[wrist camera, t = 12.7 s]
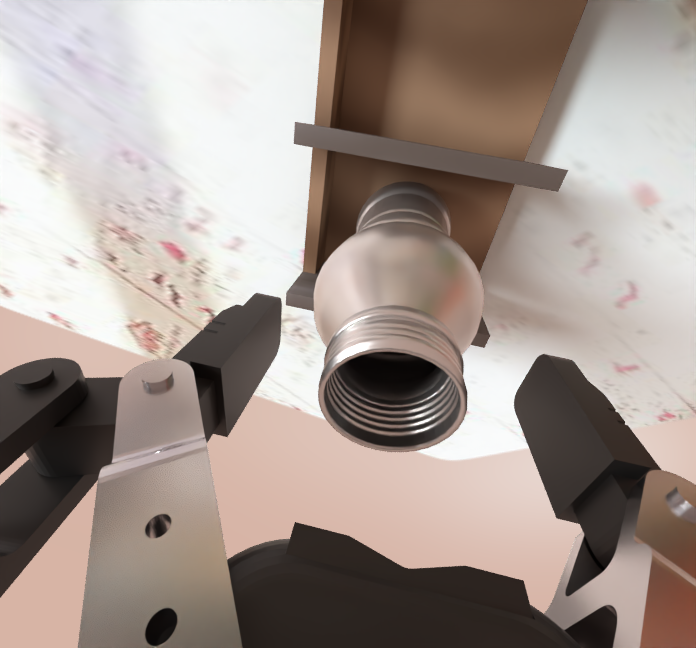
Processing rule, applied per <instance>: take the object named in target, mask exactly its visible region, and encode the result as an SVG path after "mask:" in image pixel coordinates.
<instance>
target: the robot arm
mask: <svg viewBox="0 0 696 648" xmlns="http://www.w3.org/2000/svg"><path fill="white" fill-rule="evenodd" d="M281 309H282V303H281V299H280V298H278V297H274V296H269V295H264V294H259V293H256V294H254V295H253V296H252V297H251V298H250V299H249V300H248V301H247V302H246V303H245V305H244V306H241V305H235V306H233V307H230V308H228V309H226V310H223V311H222V312H221V313H220V314H218V315H217V316H216V317H215V318H214V319H213V320H212V323H211V322H210V323H209V324H208V325H207V326H206V327H205V328H204V330H201V331H200V332H199V333H198V334H197V335H196V336H195V337H194V338H193V339H192V340H191V341H190V342H189V343H188V344H187V345H186V346H185V347H183V348H182V349H181V350H180V351H179V352H178V353H177V354H176V355H175V356H174V357H173V358H172V359H158V360H153V361H149V362H146V363H143V364H141V365H139V366H137V367H135V368H133V369H132V370H130V371H129V372H128V373H127V374H126V375H125V376H124V377H118V378H117V377H116V378H85V377H84V375H83V373H82V370H81V368H80V366H79V365H78V364H77V363H76V362H75V361H72V360H69V359H63V358H49V359H42V360H36V361H33V362H29V363H25V364H23V365H20V366H17V367H15V368H13V369H11V370H9V371H7V372H5V373H4V374H2V375H0V474H1V473H2V472H3V471H4V470H5V469H7V468H8V467H9V466H10V465H11V464H12V463H13V462H14V461H15V460H17V459H18V458H19V457H20V456H21V455H22V454H23V453H26V455H27V456H28V458H29V460H28V461H27V462H26V463H24V464H23V465H22V466H21V467H20V468H19V469H18V470H17V471H16V472H15V473H14V474H12V475H11V476H10V477H9V478H8V479H7V480H6V481H5V482H4V483H3V484H1V486H0V597H1V596H2V595H3V594H4V593H5V591H6V590H7V589H8V588H9V587H10V585H11V584H12V583H13V582H14V580H15V579H16V578H17V577H18V576H19V574H20V573H21V572H22V571H23V569H24V568H25V567H26V566H27V565H28V564H29V562H30V561H31V560H32V559H33V557H34V556H35V555H36V554H37V553H38V551H39V550H40V549H41V548H42V547H43V545H44V544H45V543H46V542H47V541H48V539H49V538H50V537H51V536H52V534H53V533H54V532H55V531H56V530H57V529H58V527H59V526H60V525H61V524H62V522H63V521H64V520H65V519H66V518H67V516H68V515H69V514H70V513H71V512H72V510H73V509H74V508H75V507H76V506H77V504H78V503H79V502H80V501H81V500H82V498H83V497H84V496H85V495H86V493H87V492H88V491H89V490H90V489H91V487H92V486H93V485H94V484H95V483H96V481H97V480H98V484H97V492H96V500H95V508H94V517H93V526H92V534H91V542H90V550H89V559H88V567H87V575H86V584H85V592H84V600H83V609H82V617H81V625H80V634H79V642H78V648H696V485H695V484H693V483H692V482H690V481H688V480H686V479H684V478H682V477H680V476H678V475H676V474H673V473H670V472H667V471H663V470H661V469H660V467H659V466H658V465H657V464H656V463H655V461H654V460H653V458H652V457H651V455H650V454H649V453H648V452H647V450H646V449H645V448H644V446H643V445H642V444H641V442H640V441H639V440H638V438H637V437H636V436H635V434H634V433H633V432H632V430H631V429H630V428H629V426H628V425H625V421H624V420H623V419H622V417H621V416H620V415H619V413H618V412H615V410H616V409H615V408H614V407H613V405H612V404H611V403H610V401H609V400H608V399H607V397H606V396H605V395H604V394H603V393H602V392H601V391H599V390H598V389H597V388H596V387H595V386H593V385H592V384H591V383H590V382H589V381H588V380H587V379H586V378H585V376H584V375H583V373H582V372H581V371H580V369H579V368H578V367H577V365H576V364H575V363H574V362H573V361H572V360H569V359H565V358H560V357H555V356H550V355H546V354H543V355H540V356H539V357H538V358H537V359H536V360H535V362H534V364H533V365H532V367H531V369H530V370H529V372H528V374H527V375H526V377H525V379H524V380H523V382H522V384H521V385H520V387H519V389H518V390H517V392H516V395H515V400H514V408H515V412H516V415H517V418H518V420H519V423H520V425H521V428H522V430H523V433H524V436H525V438H526V441H527V443H528V446H529V448H530V451H531V454H532V456H533V459H534V461H535V464H536V466H537V469H538V471H539V474H540V476H541V479H542V482H543V484H544V487H545V490H546V492H547V495H548V497H549V500H550V502H551V505H552V508H553V510H554V513H555V515H556V518H558V519H562V520H566V521H570V522H574V523H578V524H580V525H581V528H582V530H583V532H581V533H580V534H579V535H578V536H577V537H576V538H575V540H574V543H573V546H572V549H571V551H570V554H569V557H568V560H567V563H566V565H565V568H564V571H563V574H562V576H561V579H560V582H559V585H558V588H557V590H556V593H555V596H554V598H553V601H552V603H551V605H550V606H549V608H548V609H547V611H546V612H545V613H544V614H543V613H542V612H540V611H539V610H537V609H536V608H534V607H533V606H531V605H530V604H529V600H528V596H527V592H526V589H525V584H524V581H523V580H519V579H515V578H511V577H507V576H503V575H499V574H495V573H491V572H488V571H484V570H480V569H476V568H472V567H468V566H454V567H436V568H419V569H408V568H404V567H402V566H400V565H398V564H397V563H395V562H393V561H392V560H390V559H388V558H386V557H385V556H383V555H381V554H379V553H377V552H376V551H374V550H372V549H371V548H369V547H367V546H366V545H364V544H362V543H360V542H359V541H357V540H355V539H353V538H352V537H350V536H347V535H343V534H339V533H335V532H332V531H328V530H324V529H320V528H316V527H312V526H308V525H304V524H300V523H296V522H295V524H294V527H293V531H292V534H291V537H290V539H282V540H274V541H269V542H265V543H262V544H259V545H256V546H253V547H250V548H248V549H246V550H244V551H242V552H240V553H238V554H236V555H234V556H233V557H231V558H229V559H228V560H227V557H226V552H225V545H224V540H223V534H222V528H221V523H220V517H219V511H218V506H217V500H216V494H215V489H214V483H213V477H212V472H211V466H210V460H209V454H208V449H207V442H208V441H209V439H210V437H211V436H212V434H217V435H221V436H225V437H227V436H228V435H229V433H230V432H231V430H232V428H233V427H234V425H235V423H236V422H237V420H238V418H239V417H240V415H241V413H242V412H243V410H244V408H245V407H246V405H247V403H248V402H249V400H250V398H251V397H252V395H253V393H254V392H255V390H256V388H257V387H258V385H259V383H260V382H261V380H262V378H263V377H264V375H265V373H266V372H267V370H268V368H269V367H270V365H271V363H272V362H273V360H274V358H275V357H276V354H277V352H278V349H279V345H280V336H281Z"/></svg>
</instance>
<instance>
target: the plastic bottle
mask: <svg viewBox="0 0 696 648" xmlns="http://www.w3.org/2000/svg"><path fill="white" fill-rule="evenodd" d="M450 233H451V217H450V213H449V209H448V207H447V205H446V203H445V201H444V200H443V199H442V197H441V196H440V195H439V194H438V193H437V192H436V191H434V190H433V189H432V188H430V187H428V186H426V185H424V184H421V183H417V182H409V181H402V182H396V183H392V184H390V185H387V186H384V187H383V188H381V189H379V190H378V191H376V192H375V193H374V194H373V195H372V196H371V197H370V198H368V200H367V201H366V203H365V204H364V205H363V207H362V209H361V211H360V213H359V216H358V220H357V225H356V234H354V235H353V236H351V237H349V238H348V239H347V240H346V241H345V242H344V243H342V244H341V245H340V246H339V247H338V248H337V249H336V250H335V251H334V252H333V253H332V254H331V255H330V257H329V258H328V260H327V261H326V262H325V264H324V265H323V266H322V268H321V271H320V273H319V275H318V277H317V280H316V284H315V289H314V320H315V324H316V328H317V331H318V333H319V335H320V337H321V339H322V341H323V343H324V344H325V346H326V347H327V350H326V354H325V358H324V369H323V372H322V375H321V379H320V383H319V391H318V397H319V404H320V408H321V411H322V413H323V415H324V416H325V418H326V420H327V421H328V422H329V423H330V425H331V426H332V427H333V428H334V429H335V430H336V431H338V432H339V433H340V434H341V435H342V436H344V437H346V438H348V439H349V440H351V441H353V442H355V443H357V444H359V445H362V446H364V447H368V448H371V449H375V450H381V451H387V452H409V451H417V450H421V449H425V448H429V447H431V446H433V445H436V444H438V443H440V442H442V441H443V440H445V439H447V438H448V437H450V436H451V435H452V434H453V433H454V432H455V431H456V430H457V429H458V428H459V426H460V425H461V423H462V422H463V420H464V417H465V414H466V411H467V390H466V386H465V382H464V379H463V359H462V354H463V353H464V352H465V351H466V350H467V348H468V347H469V346H470V345H471V343H472V341H473V339H474V337H475V336H476V334H477V331H478V327H479V324H480V321H481V317H482V312H483V308H484V289H483V284H482V279H481V276H480V274H479V272H478V270H477V268H476V266H475V264H474V262H473V261H472V260H471V258H470V257H469V256H468V254H467V253H466V252H465V251H464V249H463V248H462V247H461V246H460V244H459V243H457V242H456V241H455V240H453V239H452V238H451V237H450Z"/></svg>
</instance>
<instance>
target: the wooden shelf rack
mask: <svg viewBox="0 0 696 648" xmlns="http://www.w3.org/2000/svg"><path fill="white" fill-rule="evenodd" d="M587 1H588V0H324V8H323V21H322V34H321V47H320V60H319V73H318V86H317V98H316V111H315V124H314V125H312V124H305V123H298V122H295V132H294V144H298V145H303V146H309V147H313V150H312V163H311V176H310V189H309V201H308V214H307V227H306V240H305V253H304V266H303V272H302V274H301V275H300V276H299V277H298V279H297V280H296V281H295V282H294V284H293V285H292V286H291V287H290V289H289V290H288V291H287V293H286V305H288V306H293V307H297V308H302V309H307V310H311V311H314V289H315V284H316V280H317V277H318V275H319V273H320V271H321V268H322V266H323V265H324V264H325V262H326V261H327V260H328V258H329V257H330V255H331V254H332V253H333V252H334V251H335V250H336V249H337V248H338V247H339V246H340V245H341V244H342V243H344V242H345V241H346V240H347V239H348V238H349V237H351V236H353V235H354V234H356V225H357V220H358V216H359V213H360V211H361V209H362V207H363V205H364V204H365V203H366V201H367V200H368V198H370V197H371V196H372V195H373V194H374V193H375V192H376V191H378V190H379V189H381V188H383V187H384V186H387V185H390V184H392V183H396V182H402V181H409V182H417V183H421V184H424V185H426V186H428V187H430V188H432V189H433V190H434V191H436V192H437V193H438V194H439V195H440V196H441V197H442V199H443V200H444V201H445V203H446V205H447V207H448V209H449V213H450V217H451V233H450V237H451V238H452V239H453V240H455V241H456V242H457V243H459V244H460V246H461V247H462V248H463V249H464V251H465V252H466V253H467V254H468V256H469V257H470V258H471V260H472V261H473V262H474V264H475V266H476V268H477V270H478V272H480V270H481V267H482V265H483V262H484V260H485V257H486V255H487V252H488V250H489V247H490V245H491V242H492V240H493V237H494V235H495V232H496V230H497V227H498V225H499V222H500V220H501V217H502V215H503V212H504V210H505V207H506V205H507V202H508V200H509V197H510V195H511V192H512V190H513V187H514V185H515V184H518V185H524V186H529V187H535V188H540V189H546V190H551V191H557V192H558V190H559V188H560V186H561V184H562V182H563V180H564V178H565V176H566V174H567V171H568V170H564V169H559V168H554V167H549V166H544V165H539V164H534V163H529V162H524V159H525V157H526V154H527V152H528V149H529V147H530V144H531V142H532V139H533V137H534V134H535V132H536V129H537V127H538V124H539V122H540V119H541V117H542V114H543V112H544V109H545V107H546V104H547V102H548V99H549V97H550V94H551V92H552V89H553V87H554V84H555V82H556V79H557V77H558V74H559V72H560V69H561V66H562V64H563V61H564V59H565V56H566V54H567V51H568V49H569V46H570V44H571V41H572V39H573V36H574V34H575V31H576V29H577V26H578V24H579V21H580V19H581V16H582V14H583V11H584V9H585V6H586V4H587ZM489 337H490V334H489V332H488V330H487V327H486V325H485V322H484V320H483V317H481V321H480V324H479V327H478V331H477V334H476V336H475V337H474V339H473V341H472V343H471V345H474V346H479V347H483V348H484V347H485V345H486V343H487V341H488V339H489Z"/></svg>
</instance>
